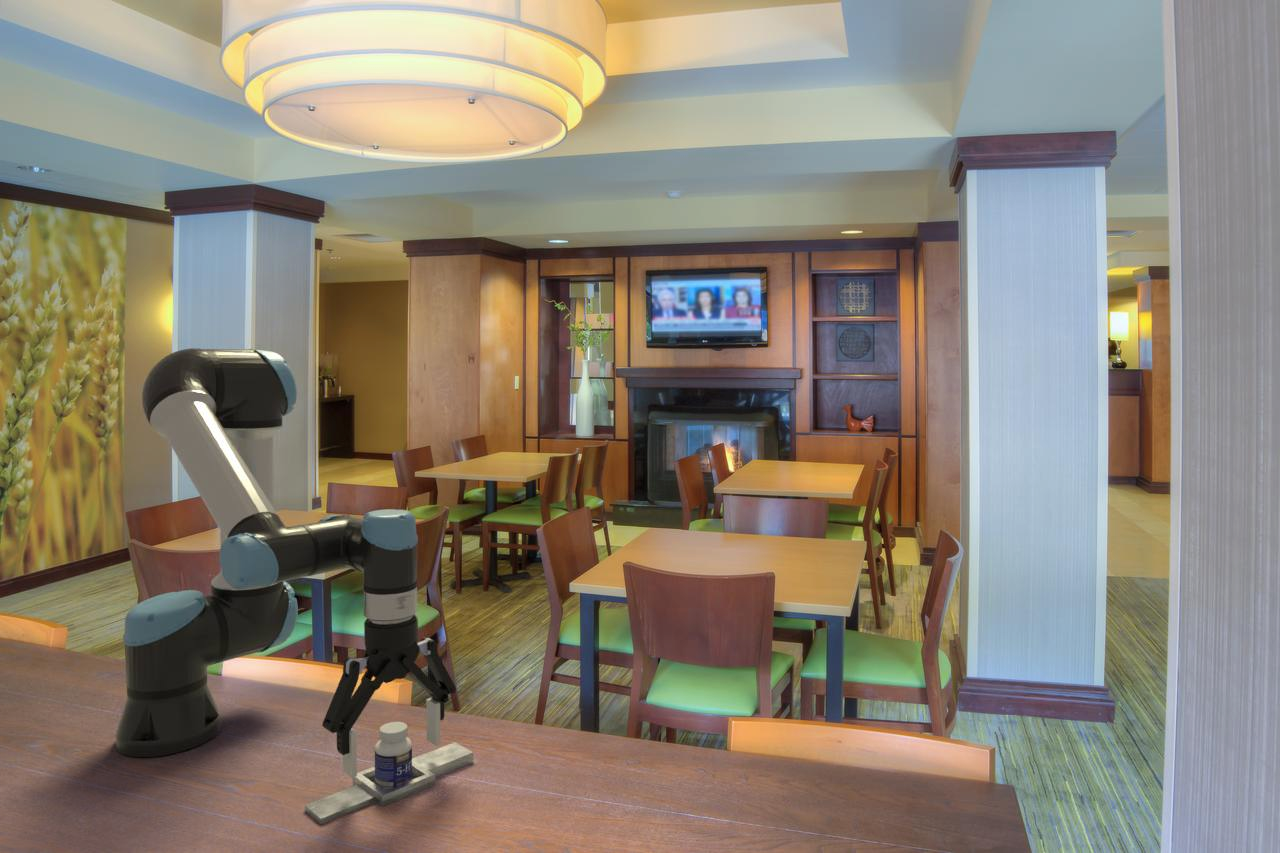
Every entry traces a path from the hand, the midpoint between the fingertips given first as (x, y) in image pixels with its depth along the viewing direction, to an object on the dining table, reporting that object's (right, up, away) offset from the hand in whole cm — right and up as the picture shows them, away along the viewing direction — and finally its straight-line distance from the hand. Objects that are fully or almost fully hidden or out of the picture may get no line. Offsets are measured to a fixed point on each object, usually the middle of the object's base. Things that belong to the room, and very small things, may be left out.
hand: (393, 757), depth 121 cm
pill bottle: (0, -4, 0) cm, 4 cm away
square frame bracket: (0, -4, 0) cm, 4 cm away
